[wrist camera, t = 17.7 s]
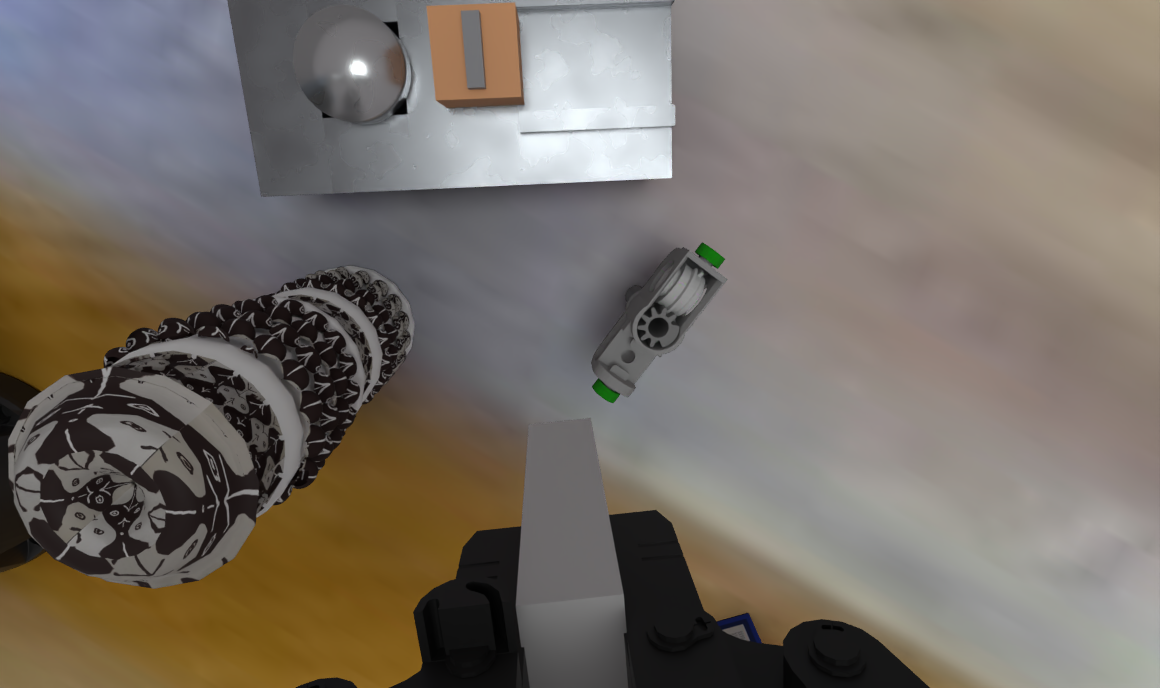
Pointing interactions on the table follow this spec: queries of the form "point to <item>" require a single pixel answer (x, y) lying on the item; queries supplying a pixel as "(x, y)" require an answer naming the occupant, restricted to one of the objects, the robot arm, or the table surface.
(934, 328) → the table surface
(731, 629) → the milk carton
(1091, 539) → the table surface
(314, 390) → the decorative candle
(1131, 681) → the table surface
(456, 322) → the table surface
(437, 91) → the block
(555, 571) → the robot arm
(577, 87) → the hitch block
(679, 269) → the mechanical component
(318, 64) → the pin
